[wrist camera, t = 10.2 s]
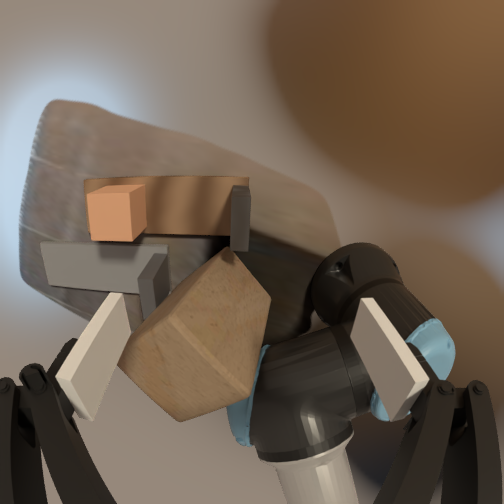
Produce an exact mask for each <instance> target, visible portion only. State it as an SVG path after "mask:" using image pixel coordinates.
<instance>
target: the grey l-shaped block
mask: <svg viewBox="0 0 504 504" xmlns="http://www.w3.org/2000/svg"><path fill="white" fill-rule="evenodd" d="M40 247H41V252H42V256H43V261H44V265H45V270H46V274H47V278H48V282H49V285H54V286H63V287H72V288H81V289H91V290H102V291H113V292H125V293H138V294H139V295H140V301H141V307H142V313H143V319H145V320H146V319H147V318H148V316H149V315H150V314H151V313H152V312H153V311H154V310H155V309H156V308H157V307H158V306H159V305H160V304H161V303H162V302H163V300H164V299H165V298H166V297H167V296H168V295H169V294H170V293H171V292H172V286H171V274H170V260H169V245H163V244H129V243H93V242H55V241H43V242H41V243H40Z"/></svg>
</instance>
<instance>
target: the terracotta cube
mask: <svg viewBox="0 0 504 504" xmlns="http://www.w3.org/2000/svg"><path fill="white" fill-rule="evenodd" d="M87 204H88V215H89V224H90V232H91V240H96V241H133V240H134V239H135V238H136V237H137V236H138V235H139V234H140V233H141V232H142V231H143V230H144V229H145V228H146V227H147V220H146V199H145V184H144V185H113V186H105V187H103V188H100V189H98V190H95V191H93V192H91V193H88V194H87Z"/></svg>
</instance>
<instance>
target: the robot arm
mask: <svg viewBox="0 0 504 504" xmlns="http://www.w3.org/2000/svg"><path fill="white" fill-rule="evenodd" d="M311 300H312V303H313V306H314V308H315V311H316V313H317V315H318V316H319V317H320V319H321V320H322V321H323V322H324V323H325V324H326V325H328V326H329V327H327V328H324V329H321V330H318V331H315V332H312V333H309V334H306V335H303V336H300V337H297V338H293V339H290V340H287V341H284V342H280V343H277V344H274V345H265V346H263V348H261V351H260V355H259V360H258V365H257V369H256V374H255V378H254V383H253V387H252V392H251V395H250V396H249V397H248V398H246V399H244V400H241V401H239V402H236V403H234V404H231V405H229V406H227V414H228V419H229V424H230V427H231V431H232V433H233V435H234V436H235V437H236V441H237V442H238V443H239V444H240V445H243V446H248V447H250V446H253V445H255V448H256V450H257V453H258V457H259V459H260V461H262V462H263V463H266V464H269V465H271V466H273V467H275V468H276V471H277V474H278V477H279V480H280V483H281V486H282V489H283V492H284V495H285V498H286V501H287V504H359V502H358V498H357V494H356V489H355V485H354V482H353V478H352V473H351V470H350V466H349V462H348V458H347V454H346V450H345V446H346V445H347V443H348V442H349V441H350V439H351V438H352V436H353V433H354V431H353V427H352V423H351V419H352V418H354V417H357V416H359V415H362V414H365V413H368V412H370V411H371V412H372V414H373V415H374V416H376V417H377V418H378V419H379V420H383V421H388V420H390V421H391V422H392V421H396V420H400V419H404V418H405V417H406V415H408V414H410V413H411V414H412V417H411V419H410V420H409V421H408V423H407V424H406V426H405V427H404V428H403V429H404V430H405V429H406V428H407V429H406V432H405V435H404V437H403V440H402V442H401V445H400V448H399V450H398V453H397V455H396V457H395V460H394V462H393V464H392V467H391V469H390V471H389V473H388V475H387V477H386V480H385V482H384V484H383V486H382V488H381V490H380V492H379V493H378V495H377V497H376V499H375V501H374V503H373V504H429V503H430V501H431V498H432V495H433V493H434V490H435V486H436V484H437V481H438V477H439V474H440V471H441V467H442V464H443V460H444V465H443V484H442V496H441V504H502V473H501V461H500V450H499V442H498V435H497V429H496V423H495V418H494V413H493V408H492V403H491V399H490V395H489V391H488V388H487V386H486V385H485V384H484V383H482V382H480V381H478V380H473V381H471V382H470V383H469V385H468V386H467V388H455V387H454V386H453V385H452V384H451V383H450V382H448V381H446V378H447V376H448V375H449V373H450V370H451V368H452V366H453V362H454V358H455V346H454V342H453V340H452V339H451V337H450V336H449V334H448V333H447V331H446V330H445V329H444V327H443V325H442V323H441V322H440V321H439V320H438V319H436V318H435V317H434V316H433V315H432V314H431V313H430V312H429V310H428V309H427V308H426V307H425V306H424V305H423V304H422V303H421V302H420V301H419V300H418V299H417V298H416V297H415V296H414V295H413V294H412V293H411V292H410V291H409V290H408V289H407V288H406V287H405V286H404V284H403V281H402V279H401V276H400V274H399V270H398V267H397V265H396V263H395V261H394V260H393V259H392V257H391V256H390V255H389V254H388V253H386V252H385V251H384V250H383V249H382V248H380V247H379V246H376V245H374V244H371V243H353V244H349V245H346V246H344V247H341V248H339V249H338V250H336V251H334V252H333V253H332V254H330V255H329V256H328V257H327V258H326V259H325V260H324V261H323V262H322V264H321V265H320V266H319V268H318V269H317V271H316V273H315V275H314V278H313V281H312V284H311ZM130 334H131V330H130V326H129V322H128V317H127V313H126V308H125V303H124V298H123V293H112V292H110V294H109V295H108V297H107V298H106V299H105V301H104V302H103V304H102V305H101V306H100V308H99V309H98V311H97V312H96V314H95V315H94V317H93V318H92V319H91V321H90V322H89V324H88V326H87V327H86V328H85V330H84V331H83V333H82V334H81V336H80V338H79V339H76V338H72V339H71V340H69V341H68V342H67V343H65V345H64V346H63V348H62V349H61V352H60V353H59V354H58V355H57V358H55V360H54V362H53V363H52V365H51V366H50V368H49V369H48V371H47V373H46V372H45V370H44V368H43V366H41V365H40V364H36V363H34V364H29V365H27V366H25V367H24V368H23V369H22V370H21V372H20V374H19V379H20V380H21V382H22V384H23V386H16V384H15V383H14V381H13V380H12V379H11V378H7V377H4V378H1V379H0V504H48V502H47V497H46V491H45V484H44V477H43V470H42V460H41V449H42V452H43V455H44V458H45V461H46V464H47V467H48V469H49V472H50V474H51V477H52V480H53V482H54V485H55V487H56V489H57V492H58V494H59V496H60V499H61V501H62V503H63V504H117V503H116V501H115V500H114V498H113V497H112V495H111V493H110V492H109V490H108V488H107V487H106V485H105V483H104V481H103V480H102V478H101V476H100V474H99V472H98V471H97V469H96V467H95V465H94V463H93V461H92V459H91V457H90V455H89V453H88V450H87V448H86V446H85V444H84V442H83V439H82V437H81V435H80V433H79V430H78V428H77V425H76V423H75V421H74V419H73V417H72V415H73V413H74V410H75V412H76V413H77V415H78V416H79V417H80V418H83V419H87V420H90V421H94V418H95V416H96V413H97V411H98V408H99V406H100V403H101V401H102V398H103V396H104V393H105V391H106V389H107V386H108V384H109V381H110V379H111V377H112V374H113V372H114V370H115V367H116V365H117V363H118V361H119V358H120V356H121V354H122V352H123V350H124V347H125V345H126V343H127V341H128V339H129V337H130Z"/></svg>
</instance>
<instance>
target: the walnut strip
mask: <svg viewBox="0 0 504 504" xmlns="http://www.w3.org/2000/svg"><path fill="white" fill-rule="evenodd" d="M144 184H145V199H146V220H147V227H146V228H145V229H144V230H143V231H142V232H141V233H152V234H192V235H225V236H230V251H248V246H249V227H250V209H251V195H250V190H249V177H229V176H139V177H115V178H98V179H86V180H84V193H85V206H86V216H87V225H88V232H90V224H89V215H88V204H87V194H88V193H91V192H93V191H95V190H98V189H100V188H103V187H105V186H113V185H144Z"/></svg>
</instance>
